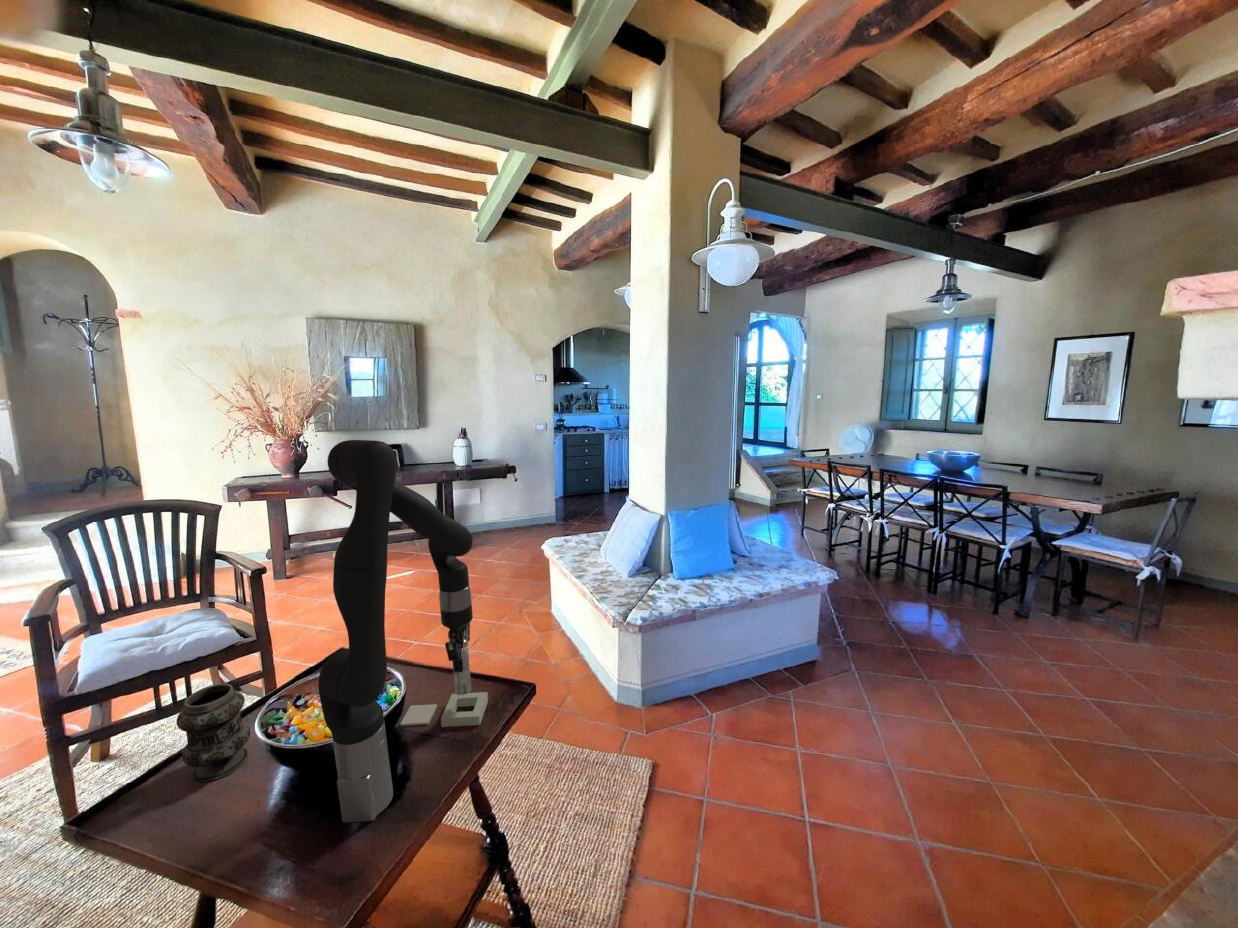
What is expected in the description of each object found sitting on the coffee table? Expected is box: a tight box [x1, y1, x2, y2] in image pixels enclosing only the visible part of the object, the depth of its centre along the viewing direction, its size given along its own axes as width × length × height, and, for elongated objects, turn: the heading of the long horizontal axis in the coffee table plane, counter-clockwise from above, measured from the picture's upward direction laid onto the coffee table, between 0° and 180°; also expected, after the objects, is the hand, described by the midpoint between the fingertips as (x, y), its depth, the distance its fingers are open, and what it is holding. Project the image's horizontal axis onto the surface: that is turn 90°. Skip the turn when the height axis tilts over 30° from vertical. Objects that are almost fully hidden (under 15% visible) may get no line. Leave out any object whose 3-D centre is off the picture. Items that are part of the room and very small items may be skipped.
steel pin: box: [451, 637, 472, 695], centre depth 123 cm, size 4×4×14 cm
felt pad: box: [399, 703, 438, 727], centre depth 125 cm, size 7×7×1 cm
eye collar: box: [440, 691, 489, 728], centre depth 126 cm, size 10×10×2 cm
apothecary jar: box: [176, 683, 251, 783], centre depth 109 cm, size 12×12×18 cm
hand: (461, 665), depth 123 cm, fingers closed on steel pin, 4 cm apart
